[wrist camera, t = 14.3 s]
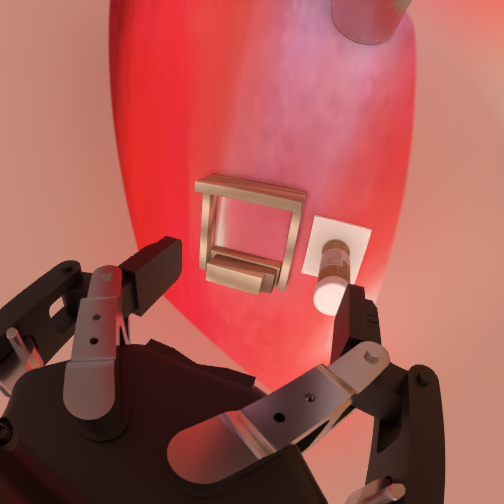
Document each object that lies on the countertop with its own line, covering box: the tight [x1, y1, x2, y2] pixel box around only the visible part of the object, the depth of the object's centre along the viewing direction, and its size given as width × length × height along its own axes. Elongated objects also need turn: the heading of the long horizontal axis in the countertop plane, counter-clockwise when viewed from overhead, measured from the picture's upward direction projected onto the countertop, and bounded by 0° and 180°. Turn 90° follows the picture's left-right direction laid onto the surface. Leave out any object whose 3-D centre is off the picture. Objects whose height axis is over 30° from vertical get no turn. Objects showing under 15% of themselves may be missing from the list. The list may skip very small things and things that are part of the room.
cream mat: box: [301, 214, 372, 285], centre depth 42 cm, size 10×9×1 cm
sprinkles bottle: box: [313, 240, 351, 316], centre depth 36 cm, size 5×5×14 cm
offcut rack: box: [195, 174, 307, 295], centre depth 43 cm, size 16×15×6 cm
